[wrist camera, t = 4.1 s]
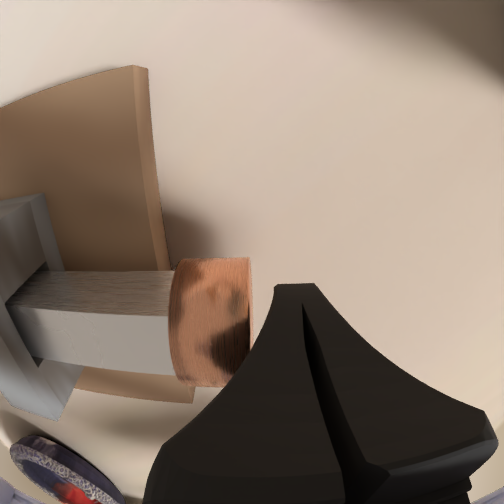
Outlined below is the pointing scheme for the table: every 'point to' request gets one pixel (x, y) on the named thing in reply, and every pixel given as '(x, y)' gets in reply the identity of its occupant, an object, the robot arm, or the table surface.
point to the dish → (62, 473)
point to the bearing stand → (78, 220)
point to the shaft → (142, 319)
